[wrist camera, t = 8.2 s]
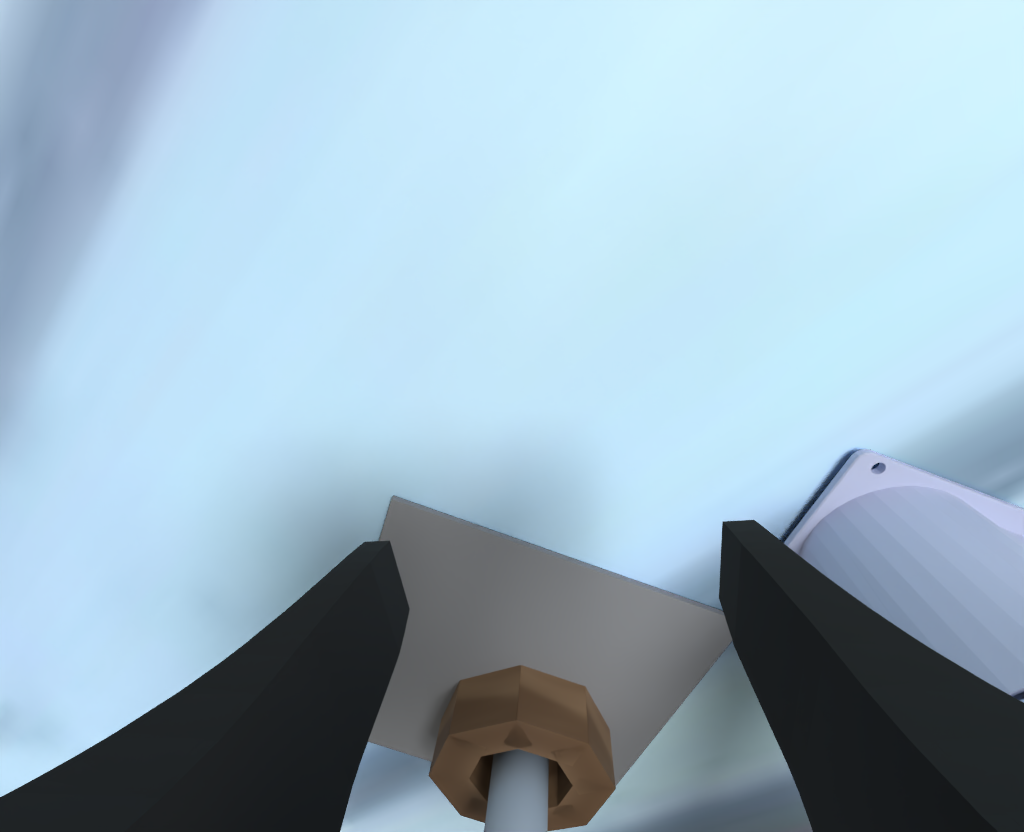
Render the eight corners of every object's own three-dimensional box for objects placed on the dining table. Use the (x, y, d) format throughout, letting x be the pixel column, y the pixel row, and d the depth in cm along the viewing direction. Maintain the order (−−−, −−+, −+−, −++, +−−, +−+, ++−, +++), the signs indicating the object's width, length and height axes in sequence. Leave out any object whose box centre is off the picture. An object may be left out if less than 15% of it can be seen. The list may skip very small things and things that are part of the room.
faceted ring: (630, 701, 26) (638, 759, 23) (566, 788, 29) (567, 848, 27) (474, 649, 25) (464, 703, 22) (429, 745, 29) (415, 801, 26)
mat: (744, 618, 23) (746, 623, 23) (593, 807, 30) (593, 813, 30) (393, 495, 22) (391, 499, 22) (324, 722, 29) (322, 727, 29)
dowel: (556, 714, 27) (554, 905, 19) (540, 745, 28) (533, 935, 21) (505, 700, 27) (484, 886, 19) (491, 731, 28) (467, 918, 21)
